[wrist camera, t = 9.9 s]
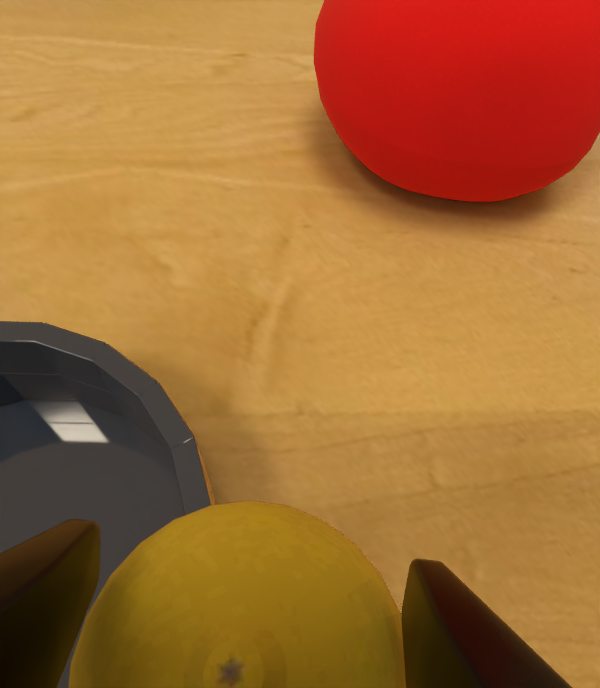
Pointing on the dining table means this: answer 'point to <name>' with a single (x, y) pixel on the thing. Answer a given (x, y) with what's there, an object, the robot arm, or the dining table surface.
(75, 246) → the dining table surface
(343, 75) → the tomato
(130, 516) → the pot
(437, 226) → the dining table surface
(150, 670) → the lemon
